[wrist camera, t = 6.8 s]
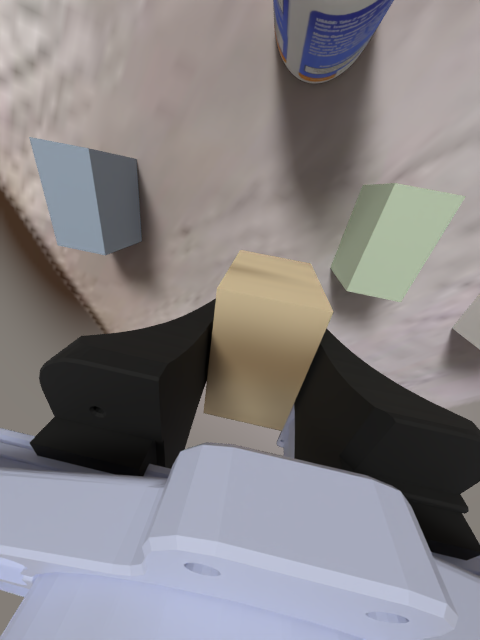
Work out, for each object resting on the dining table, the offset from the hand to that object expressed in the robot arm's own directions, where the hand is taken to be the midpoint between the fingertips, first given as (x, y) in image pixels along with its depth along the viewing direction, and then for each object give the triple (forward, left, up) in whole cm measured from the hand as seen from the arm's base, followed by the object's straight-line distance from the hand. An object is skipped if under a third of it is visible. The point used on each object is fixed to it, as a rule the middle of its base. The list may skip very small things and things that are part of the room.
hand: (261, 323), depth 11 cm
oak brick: (0, 0, -1) cm, 1 cm away
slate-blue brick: (+3, +13, -10) cm, 16 cm away
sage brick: (+4, -7, -10) cm, 12 cm away
